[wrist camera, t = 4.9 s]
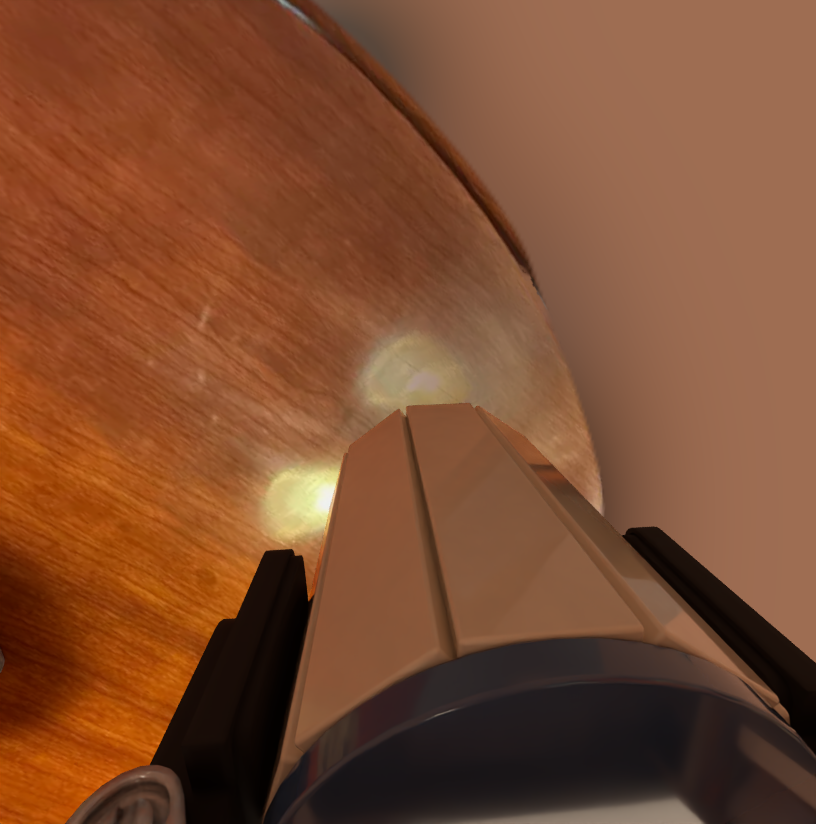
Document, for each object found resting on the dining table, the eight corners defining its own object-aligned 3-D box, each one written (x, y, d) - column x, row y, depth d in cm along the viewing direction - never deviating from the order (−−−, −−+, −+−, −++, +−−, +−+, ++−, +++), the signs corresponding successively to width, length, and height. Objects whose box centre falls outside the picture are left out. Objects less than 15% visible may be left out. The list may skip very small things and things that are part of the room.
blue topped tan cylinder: (321, 408, 12) (177, 713, 3) (551, 398, 12) (938, 650, 4) (338, 596, 14) (273, 1092, 5) (537, 582, 14) (773, 1025, 6)
